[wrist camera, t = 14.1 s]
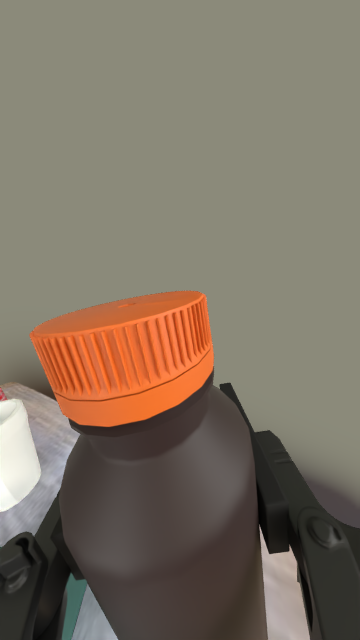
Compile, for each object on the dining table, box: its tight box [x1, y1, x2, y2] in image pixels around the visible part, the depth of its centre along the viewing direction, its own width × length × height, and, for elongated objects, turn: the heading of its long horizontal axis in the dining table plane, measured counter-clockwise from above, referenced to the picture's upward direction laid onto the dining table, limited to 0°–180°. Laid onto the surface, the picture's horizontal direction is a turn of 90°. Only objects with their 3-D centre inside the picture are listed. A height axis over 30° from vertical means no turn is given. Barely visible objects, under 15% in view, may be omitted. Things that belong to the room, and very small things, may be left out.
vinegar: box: [30, 291, 268, 640], centre depth 8 cm, size 7×7×20 cm
